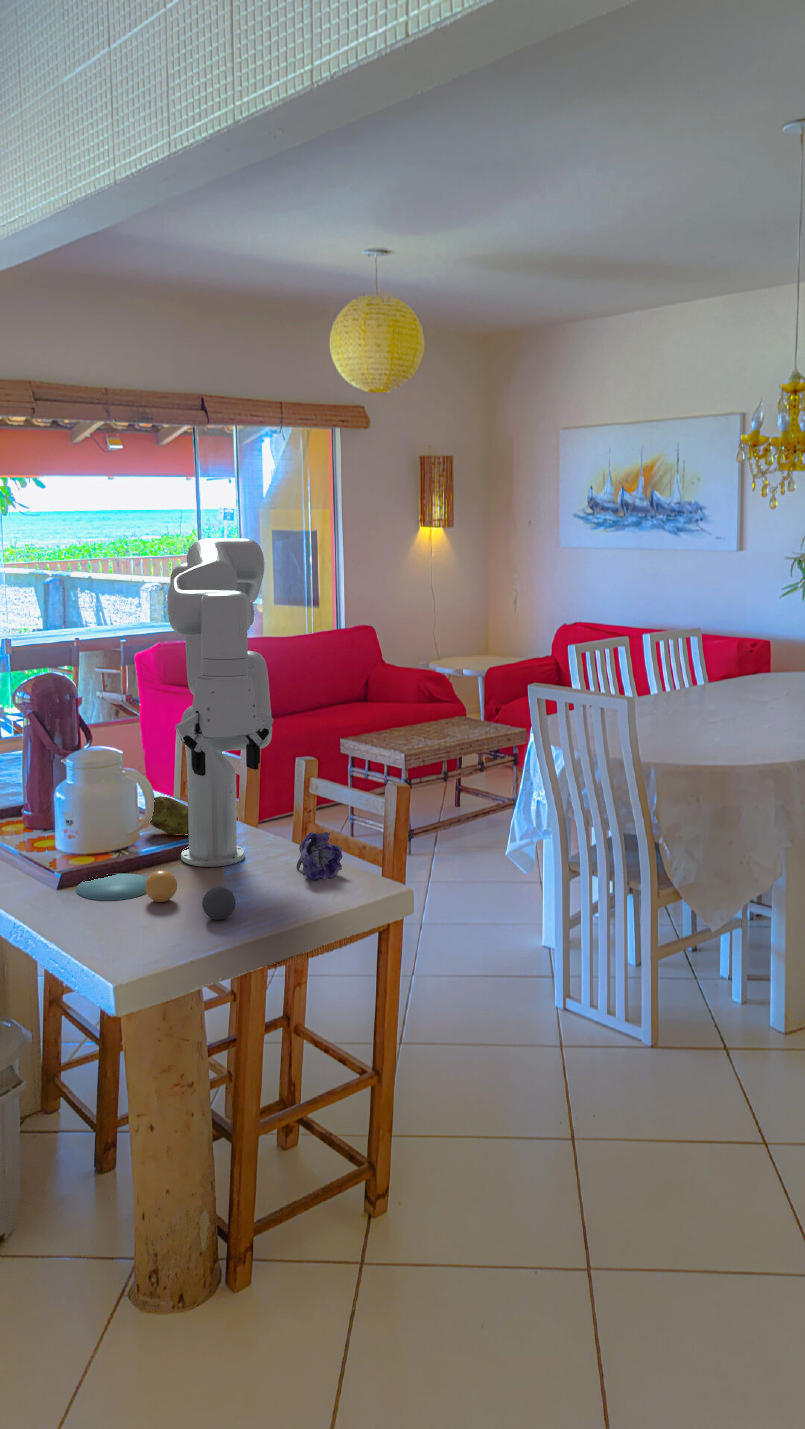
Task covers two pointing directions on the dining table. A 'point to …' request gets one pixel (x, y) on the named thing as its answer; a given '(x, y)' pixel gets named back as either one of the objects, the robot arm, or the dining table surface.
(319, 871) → the flower
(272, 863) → the dining table surface
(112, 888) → the teal flat disc
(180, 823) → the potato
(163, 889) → the object ball
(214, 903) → the dark grey ball
